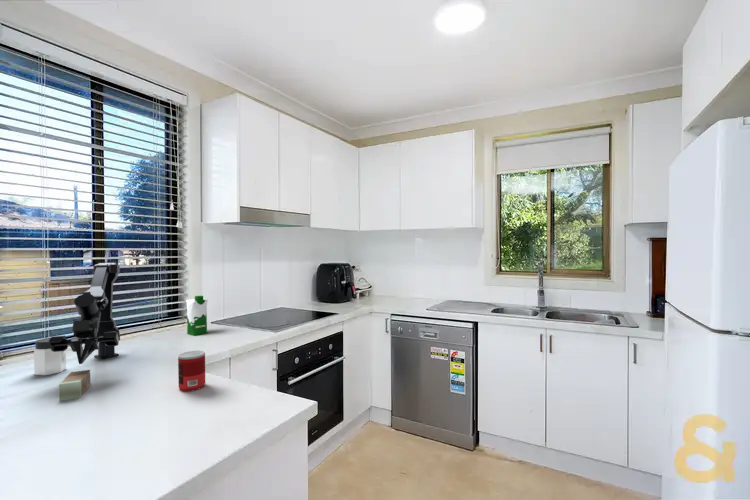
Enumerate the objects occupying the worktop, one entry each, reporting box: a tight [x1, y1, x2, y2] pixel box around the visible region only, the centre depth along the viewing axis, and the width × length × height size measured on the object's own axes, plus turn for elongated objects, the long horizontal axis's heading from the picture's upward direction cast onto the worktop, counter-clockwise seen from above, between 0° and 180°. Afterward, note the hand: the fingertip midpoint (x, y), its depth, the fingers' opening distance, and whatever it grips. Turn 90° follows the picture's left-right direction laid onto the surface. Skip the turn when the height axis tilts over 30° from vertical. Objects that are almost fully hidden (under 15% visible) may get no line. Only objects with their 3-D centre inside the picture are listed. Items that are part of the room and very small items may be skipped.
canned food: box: [177, 350, 206, 392], centre depth 122 cm, size 8×8×11 cm
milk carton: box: [185, 295, 208, 336], centre depth 196 cm, size 9×9×20 cm
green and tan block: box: [58, 369, 91, 402], centre depth 118 cm, size 5×5×12 cm
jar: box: [33, 336, 67, 376], centre depth 137 cm, size 9×8×12 cm
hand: (80, 363), depth 123 cm, fingers closed
